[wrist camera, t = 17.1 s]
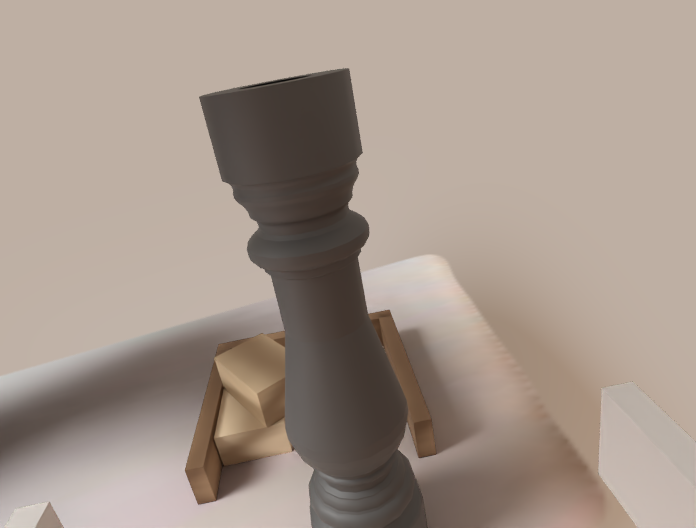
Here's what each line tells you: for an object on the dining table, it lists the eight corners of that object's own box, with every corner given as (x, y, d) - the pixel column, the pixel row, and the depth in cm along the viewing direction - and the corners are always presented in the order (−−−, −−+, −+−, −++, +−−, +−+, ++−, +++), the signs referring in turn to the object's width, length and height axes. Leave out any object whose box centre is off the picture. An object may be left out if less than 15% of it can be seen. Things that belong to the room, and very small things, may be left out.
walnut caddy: (198, 504, 33) (184, 470, 32) (227, 370, 48) (218, 344, 47) (436, 454, 34) (431, 419, 33) (393, 336, 48) (389, 309, 47)
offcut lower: (225, 470, 36) (213, 438, 35) (236, 401, 44) (226, 372, 43) (293, 455, 36) (284, 423, 35) (292, 389, 44) (284, 360, 43)
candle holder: (300, 577, 27) (155, 105, 18) (348, 488, 32) (255, 83, 23) (408, 616, 25) (304, 80, 15) (442, 512, 30) (380, 61, 20)
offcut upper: (267, 428, 35) (256, 393, 34) (224, 388, 40) (213, 357, 39) (317, 396, 37) (309, 362, 36) (270, 363, 43) (262, 333, 42)
